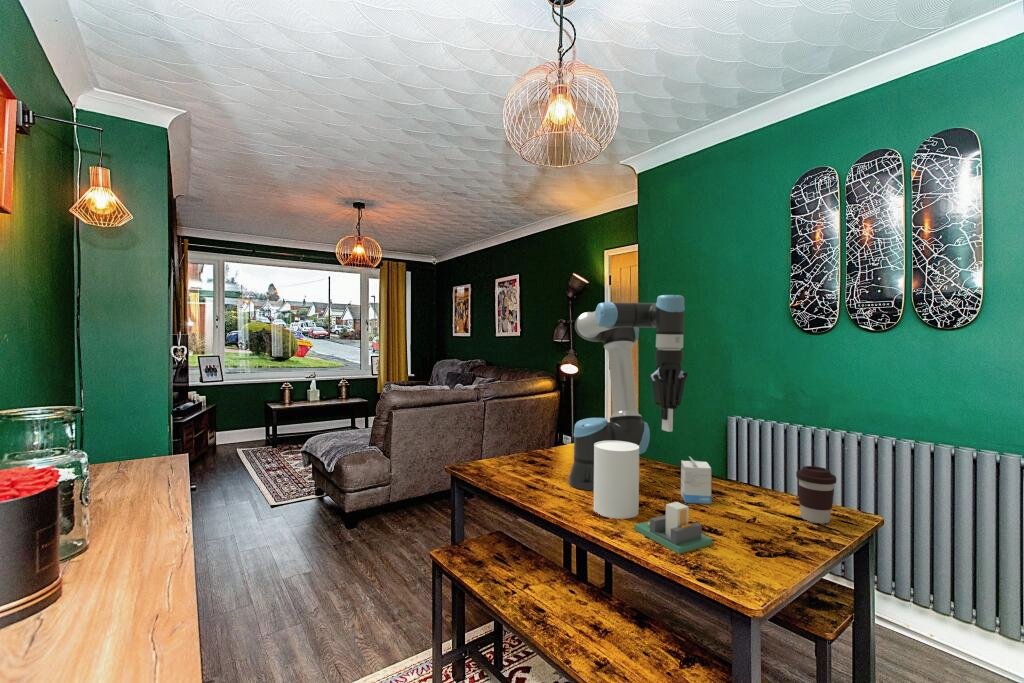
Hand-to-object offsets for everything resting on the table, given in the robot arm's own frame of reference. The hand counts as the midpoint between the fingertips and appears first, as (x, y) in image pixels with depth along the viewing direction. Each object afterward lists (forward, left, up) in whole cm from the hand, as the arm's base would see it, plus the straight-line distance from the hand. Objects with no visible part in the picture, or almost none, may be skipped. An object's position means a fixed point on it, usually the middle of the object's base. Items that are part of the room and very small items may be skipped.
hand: (667, 430), depth 137 cm
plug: (+11, -7, -25) cm, 28 cm away
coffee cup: (+19, +41, -27) cm, 52 cm away
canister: (-13, -7, -27) cm, 31 cm away
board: (+9, -6, -27) cm, 29 cm away
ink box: (-9, +23, -27) cm, 36 cm away
